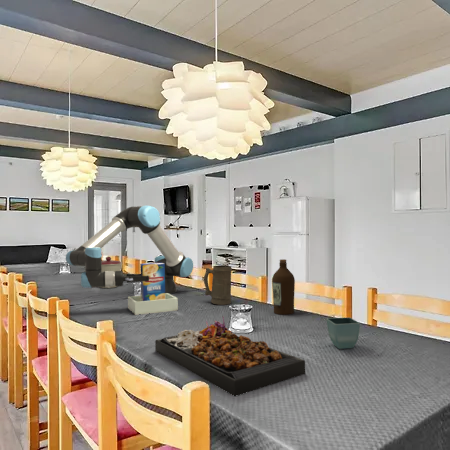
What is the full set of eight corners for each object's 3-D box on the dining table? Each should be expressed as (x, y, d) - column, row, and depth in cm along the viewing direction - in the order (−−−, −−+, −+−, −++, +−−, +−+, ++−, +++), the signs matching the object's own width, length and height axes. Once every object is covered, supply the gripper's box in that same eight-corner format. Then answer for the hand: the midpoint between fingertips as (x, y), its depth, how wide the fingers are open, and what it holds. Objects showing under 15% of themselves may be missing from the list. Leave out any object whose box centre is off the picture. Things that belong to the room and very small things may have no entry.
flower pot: (326, 343, 143) (325, 317, 143) (350, 342, 143) (350, 317, 143) (334, 351, 134) (334, 324, 134) (361, 350, 135) (360, 323, 135)
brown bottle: (287, 309, 199) (286, 258, 199) (299, 313, 190) (298, 259, 190) (268, 311, 195) (267, 259, 195) (280, 316, 185) (279, 261, 185)
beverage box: (165, 307, 203) (164, 263, 203) (143, 309, 199) (142, 264, 199) (162, 305, 210) (161, 262, 210) (140, 307, 206) (140, 263, 205)
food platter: (155, 353, 137) (154, 322, 137) (216, 340, 151) (215, 312, 151) (234, 398, 101) (234, 357, 100) (305, 376, 115) (304, 339, 115)
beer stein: (233, 301, 222) (232, 264, 222) (231, 305, 211) (230, 266, 211) (205, 301, 224) (204, 264, 224) (202, 305, 213) (201, 267, 213)
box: (168, 304, 217) (167, 293, 217) (177, 310, 202) (177, 298, 201) (128, 308, 208) (127, 296, 208) (135, 315, 193) (135, 302, 193)
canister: (118, 289, 272) (117, 257, 271) (91, 289, 272) (90, 258, 272) (125, 285, 290) (124, 255, 289) (100, 285, 290) (99, 255, 290)
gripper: (114, 284, 208) (161, 281, 214) (114, 288, 192) (164, 286, 198) (114, 269, 208) (161, 267, 214) (114, 272, 192) (164, 270, 198)
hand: (162, 276), depth 206 cm, fingers open, 3 cm apart
